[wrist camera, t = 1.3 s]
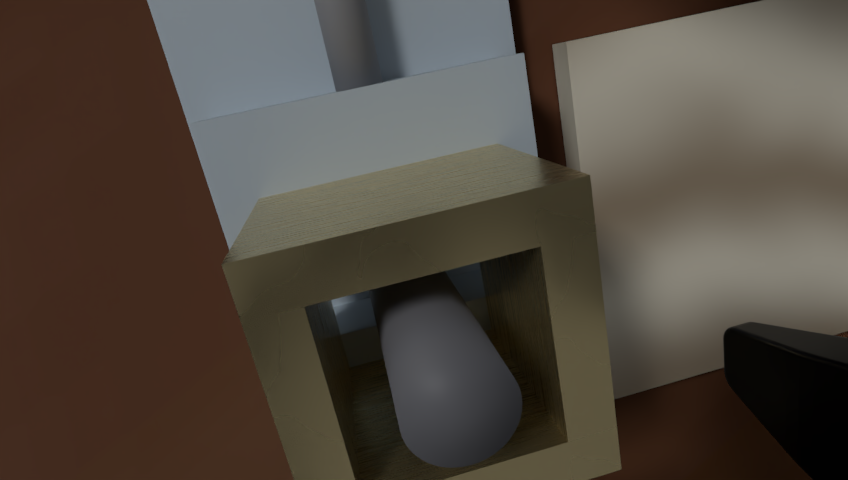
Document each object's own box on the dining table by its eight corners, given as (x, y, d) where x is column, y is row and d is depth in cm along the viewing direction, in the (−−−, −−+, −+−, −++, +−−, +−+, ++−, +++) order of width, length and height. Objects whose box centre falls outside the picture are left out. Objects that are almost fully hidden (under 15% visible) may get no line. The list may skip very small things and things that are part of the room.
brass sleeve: (530, 350, 15) (621, 469, 11) (322, 408, 15) (321, 562, 10) (497, 143, 14) (590, 175, 9) (258, 198, 13) (221, 265, 8)
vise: (557, 420, 20) (732, 671, 11) (316, 491, 19) (310, 824, 10) (466, -206, 14) (686, -654, 6) (108, -150, 13) (-298, -592, 5)
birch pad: (878, 304, 21) (905, 314, 20) (593, 386, 20) (606, 401, 19) (901, -30, 17) (934, -36, 17) (552, 44, 16) (566, 42, 15)
